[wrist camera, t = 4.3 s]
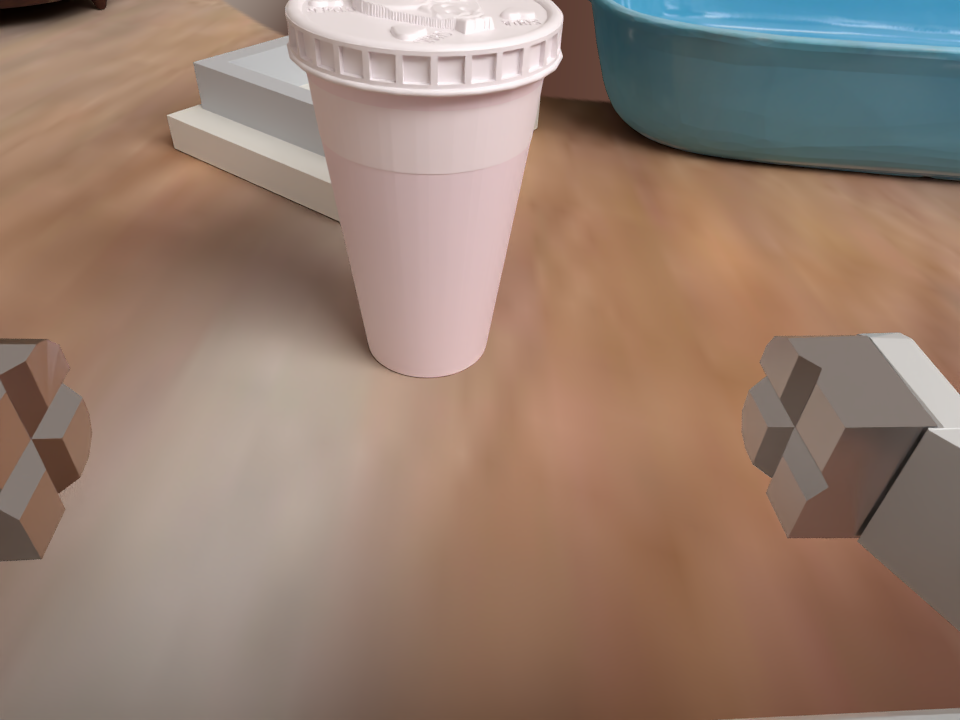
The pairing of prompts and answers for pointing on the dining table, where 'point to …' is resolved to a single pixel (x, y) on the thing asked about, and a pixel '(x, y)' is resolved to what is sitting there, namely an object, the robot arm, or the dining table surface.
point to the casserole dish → (790, 80)
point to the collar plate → (259, 124)
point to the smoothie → (426, 156)
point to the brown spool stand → (20, 0)
